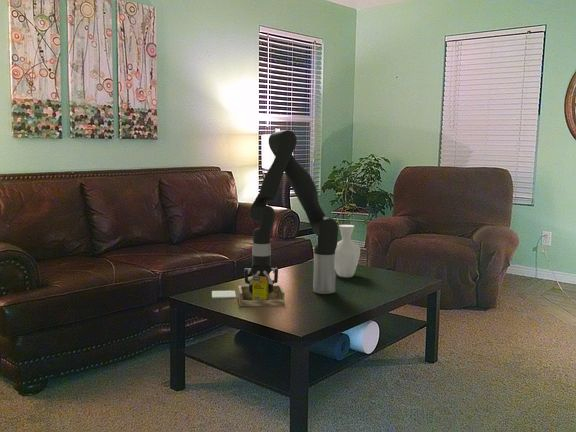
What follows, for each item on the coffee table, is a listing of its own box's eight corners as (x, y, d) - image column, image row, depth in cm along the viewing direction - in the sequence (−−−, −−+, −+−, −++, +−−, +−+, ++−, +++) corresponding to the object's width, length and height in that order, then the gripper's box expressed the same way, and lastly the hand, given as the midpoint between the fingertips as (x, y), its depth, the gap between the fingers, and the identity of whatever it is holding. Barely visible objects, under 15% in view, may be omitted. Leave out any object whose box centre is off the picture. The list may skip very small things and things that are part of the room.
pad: (234, 291, 248) (234, 290, 248) (236, 298, 239) (236, 296, 239) (211, 292, 247) (211, 290, 247) (211, 298, 237) (211, 297, 237)
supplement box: (266, 303, 231) (266, 277, 230) (252, 302, 232) (252, 276, 231) (269, 299, 237) (270, 274, 235) (255, 298, 238) (256, 273, 237)
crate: (280, 296, 242) (280, 285, 242) (284, 305, 229) (284, 293, 229) (238, 297, 240) (238, 285, 239) (239, 306, 227) (240, 293, 226)
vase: (361, 279, 276) (362, 228, 273) (331, 278, 277) (333, 227, 273) (357, 272, 291) (359, 224, 287) (329, 271, 291) (331, 223, 288)
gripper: (277, 251, 237) (277, 290, 239) (243, 252, 235) (242, 291, 237) (280, 255, 229) (279, 295, 231) (244, 255, 227) (244, 295, 230)
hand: (260, 293), depth 234 cm, fingers closed on supplement box, 7 cm apart
